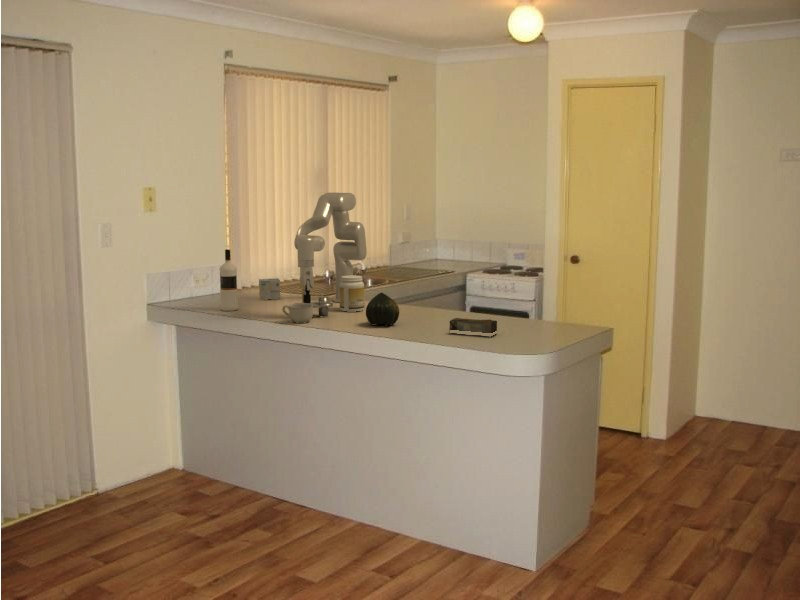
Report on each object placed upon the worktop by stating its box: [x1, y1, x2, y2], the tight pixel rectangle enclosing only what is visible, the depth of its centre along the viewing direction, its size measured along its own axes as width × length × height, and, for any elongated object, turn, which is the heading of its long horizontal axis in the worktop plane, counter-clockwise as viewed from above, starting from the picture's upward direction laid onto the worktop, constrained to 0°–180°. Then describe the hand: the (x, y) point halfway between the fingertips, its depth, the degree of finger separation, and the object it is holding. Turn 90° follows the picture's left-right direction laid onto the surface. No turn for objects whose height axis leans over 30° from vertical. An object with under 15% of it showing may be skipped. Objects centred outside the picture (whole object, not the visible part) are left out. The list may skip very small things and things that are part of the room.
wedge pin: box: [299, 283, 312, 304], centre depth 375 cm, size 5×3×12 cm, turn 107°
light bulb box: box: [258, 277, 281, 301], centre depth 428 cm, size 11×7×11 cm, turn 108°
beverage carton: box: [449, 317, 498, 333], centre depth 338 cm, size 8×19×7 cm, turn 67°
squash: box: [365, 292, 400, 326], centre depth 358 cm, size 14×15×15 cm
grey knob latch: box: [310, 296, 334, 317], centre depth 377 cm, size 17×10×9 cm, turn 107°
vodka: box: [219, 248, 240, 312], centre depth 393 cm, size 9×9×30 cm
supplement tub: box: [339, 274, 365, 313], centre depth 394 cm, size 12×12×17 cm
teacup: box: [281, 302, 314, 324], centre depth 364 cm, size 14×11×8 cm
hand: (306, 302), depth 375 cm, fingers closed on wedge pin, 3 cm apart
